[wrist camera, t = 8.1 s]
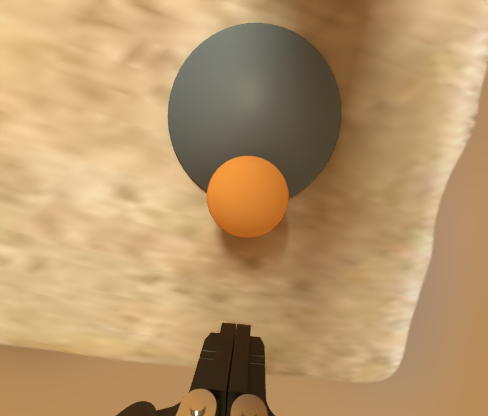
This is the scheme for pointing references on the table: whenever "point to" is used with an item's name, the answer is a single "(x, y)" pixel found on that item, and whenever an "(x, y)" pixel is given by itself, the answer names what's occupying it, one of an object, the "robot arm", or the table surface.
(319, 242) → the table surface
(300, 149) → the dark grey flat disc
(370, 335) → the table surface
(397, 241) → the table surface
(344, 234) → the table surface
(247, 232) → the ball
